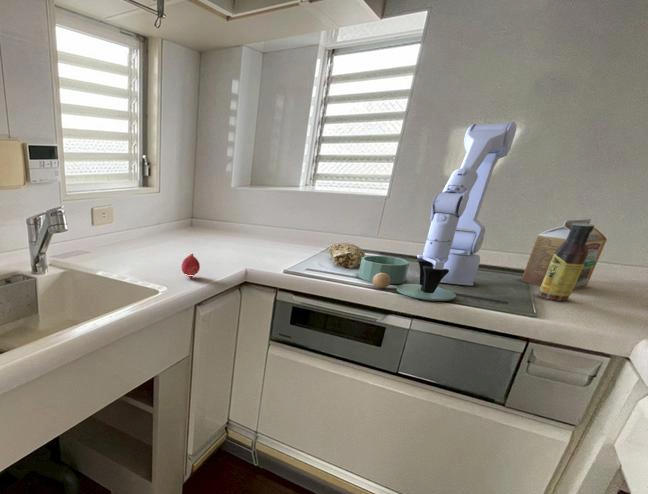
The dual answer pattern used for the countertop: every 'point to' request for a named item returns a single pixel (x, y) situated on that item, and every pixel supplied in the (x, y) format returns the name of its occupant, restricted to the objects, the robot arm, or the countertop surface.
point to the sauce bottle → (566, 264)
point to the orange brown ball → (381, 280)
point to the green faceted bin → (383, 268)
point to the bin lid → (418, 292)
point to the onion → (190, 265)
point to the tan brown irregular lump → (346, 254)
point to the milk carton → (549, 245)
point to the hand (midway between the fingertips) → (426, 288)
